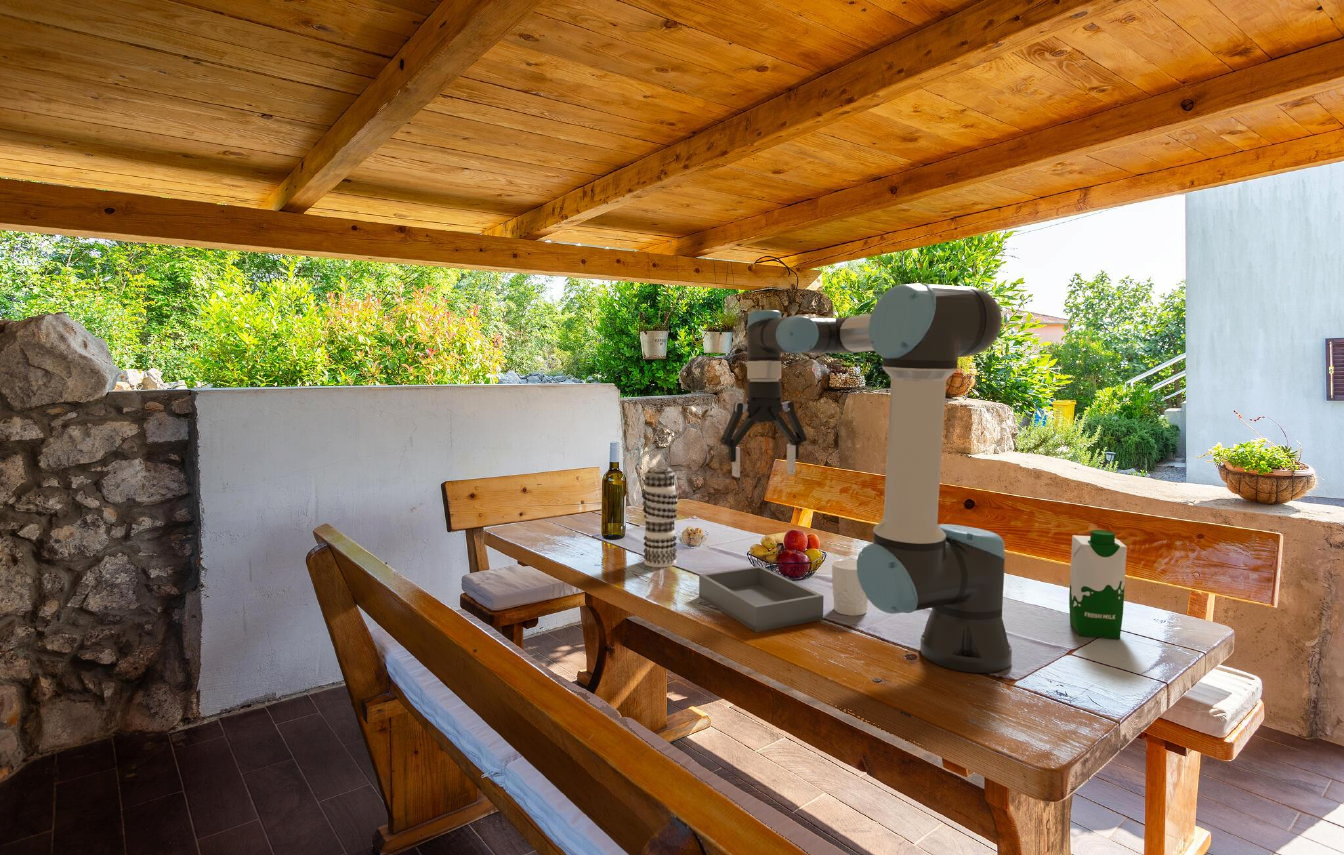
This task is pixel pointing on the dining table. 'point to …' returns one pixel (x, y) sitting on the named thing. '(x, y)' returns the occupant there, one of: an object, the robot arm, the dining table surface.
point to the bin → (761, 598)
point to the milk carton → (1097, 584)
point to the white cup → (847, 588)
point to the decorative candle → (659, 517)
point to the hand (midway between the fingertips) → (763, 474)
